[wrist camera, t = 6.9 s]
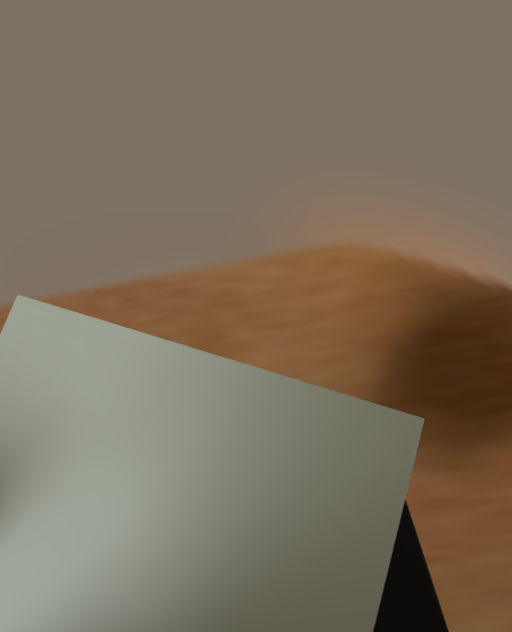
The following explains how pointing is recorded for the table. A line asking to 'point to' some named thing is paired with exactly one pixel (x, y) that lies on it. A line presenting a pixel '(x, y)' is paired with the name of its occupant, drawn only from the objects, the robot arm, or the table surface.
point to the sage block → (186, 487)
